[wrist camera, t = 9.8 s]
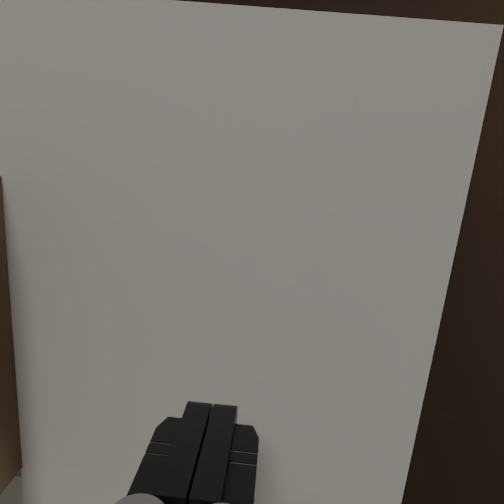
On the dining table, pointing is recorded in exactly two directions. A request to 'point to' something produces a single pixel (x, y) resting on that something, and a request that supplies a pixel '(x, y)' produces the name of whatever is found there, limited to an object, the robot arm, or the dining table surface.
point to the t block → (7, 374)
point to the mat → (230, 233)
